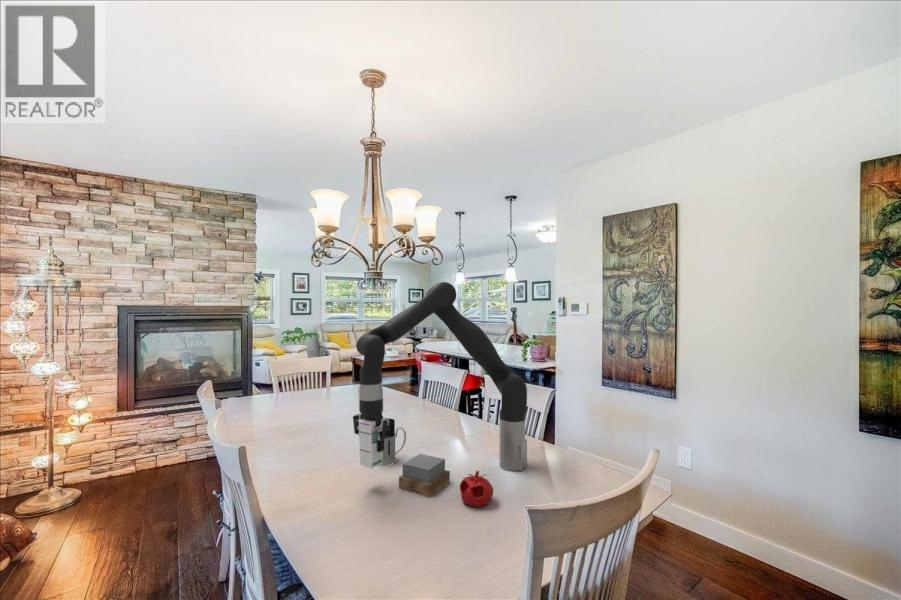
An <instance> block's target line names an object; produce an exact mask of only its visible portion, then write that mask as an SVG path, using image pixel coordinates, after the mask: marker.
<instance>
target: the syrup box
mask: <svg viewBox="0 0 901 600" xmlns="http://www.w3.org/2000/svg"><path fill="white" fill-rule="evenodd" d="M374 426H376V424H375V421H369V419H367V420H363V419H362V420H359V435H358V437H359V438H358V441H359V444H358V445H359V464H360V466H362V467H366V468H368V469H371V470H372V469H374V468H376V467H378V466H380V465H381V464H383V463H385V450H384V449H383V451H381V452H377V437H376V434H375V433H374ZM381 426H382V423H381V424H380V426H378V427H376V429H377V430H379V429H381ZM379 434H380V432H379ZM380 436H381V434H380Z"/></svg>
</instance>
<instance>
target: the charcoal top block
mask: <svg viewBox="0 0 901 600" xmlns="http://www.w3.org/2000/svg"><path fill="white" fill-rule="evenodd" d="M445 470H446V458H445V459H444V458H441V457H438V456H431V455H428V454H423V453H419V454H417V455H416V456H413V457H411V458H410V459H408V460H407V461H405V462H403V463H402V475H403V477H407V478H411V479H415V480H419V481H423V482H427V483H429V482H431V481H432V480H434V479H435V478H436V477H438V476H439V475H440V474H442V473H443V472H445Z"/></svg>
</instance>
